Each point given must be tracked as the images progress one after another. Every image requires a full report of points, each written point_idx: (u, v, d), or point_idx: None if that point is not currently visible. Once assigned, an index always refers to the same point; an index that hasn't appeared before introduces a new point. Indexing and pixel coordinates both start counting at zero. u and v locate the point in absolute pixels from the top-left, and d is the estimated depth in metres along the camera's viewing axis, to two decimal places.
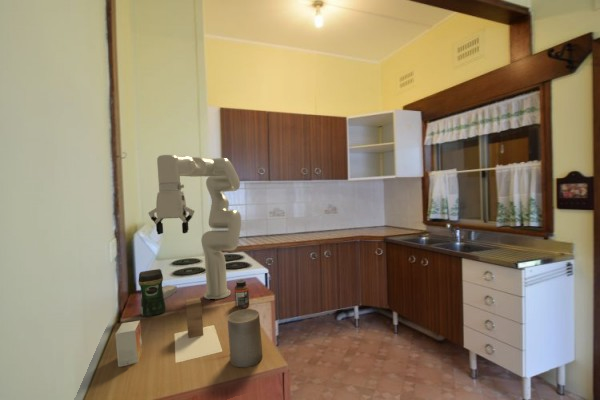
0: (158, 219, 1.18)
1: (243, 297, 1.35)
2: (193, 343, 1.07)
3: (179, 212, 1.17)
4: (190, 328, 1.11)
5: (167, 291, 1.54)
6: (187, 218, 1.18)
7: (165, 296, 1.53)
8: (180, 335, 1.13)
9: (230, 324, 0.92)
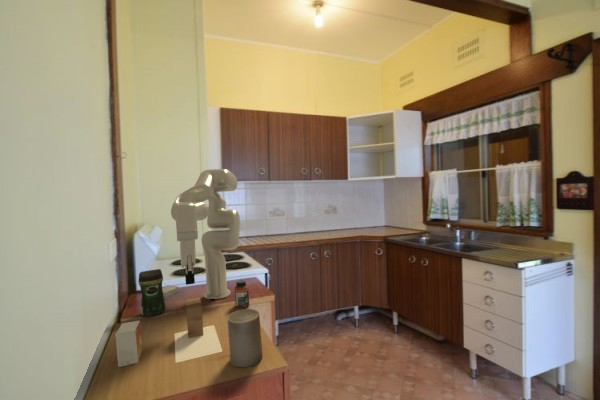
0: None
1: (243, 297, 1.35)
2: (193, 343, 1.07)
3: None
4: (190, 328, 1.11)
5: (169, 291, 1.54)
6: None
7: (167, 296, 1.53)
8: (180, 335, 1.13)
9: (230, 324, 0.92)
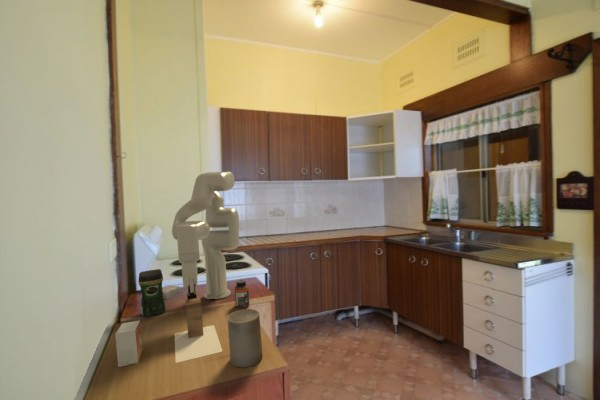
0: None
1: (243, 297, 1.35)
2: (193, 343, 1.07)
3: None
4: (190, 328, 1.11)
5: (170, 291, 1.54)
6: None
7: (168, 296, 1.52)
8: (180, 335, 1.13)
9: (230, 324, 0.92)
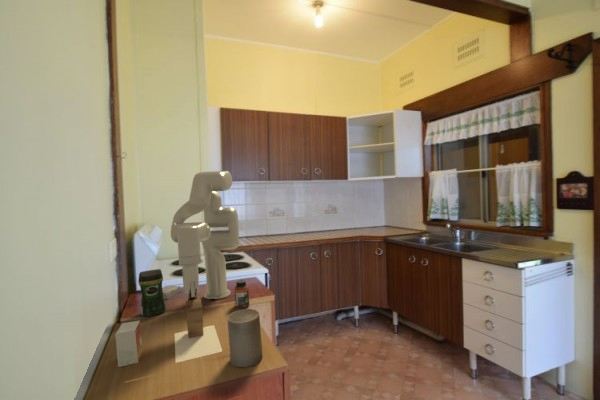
0: None
1: (243, 297, 1.35)
2: (193, 343, 1.07)
3: None
4: (190, 329, 1.10)
5: (171, 291, 1.54)
6: None
7: (169, 296, 1.52)
8: (180, 335, 1.13)
9: (230, 324, 0.92)
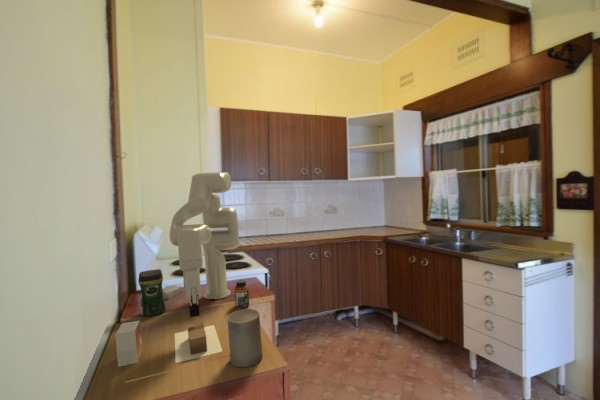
0: None
1: (243, 297, 1.35)
2: None
3: None
4: None
5: (172, 291, 1.54)
6: None
7: (170, 296, 1.52)
8: (180, 335, 1.13)
9: (230, 324, 0.92)
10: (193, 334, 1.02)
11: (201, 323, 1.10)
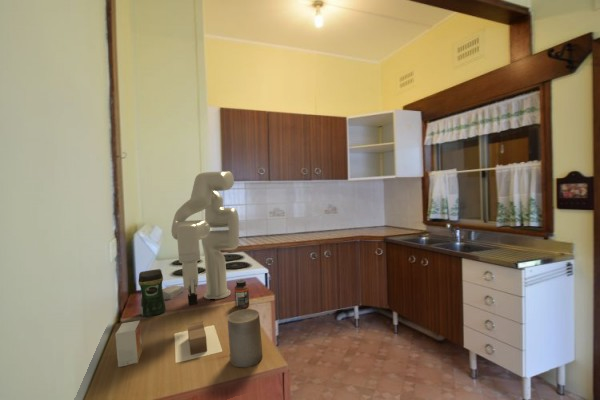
0: (195, 289, 1.18)
1: (243, 297, 1.35)
2: None
3: None
4: None
5: (174, 291, 1.54)
6: None
7: (172, 296, 1.52)
8: (180, 335, 1.13)
9: (230, 324, 0.92)
10: (193, 334, 1.02)
11: (201, 323, 1.10)
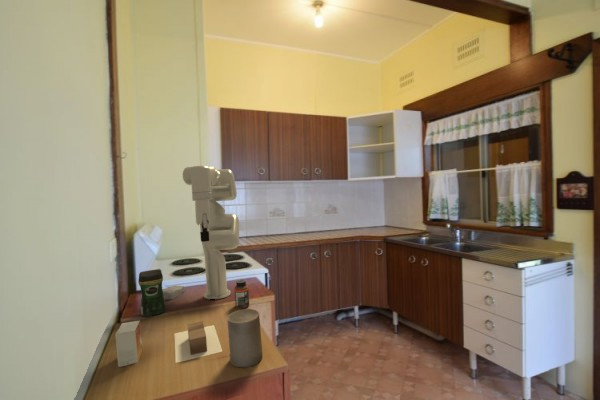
0: None
1: (243, 297, 1.35)
2: None
3: None
4: None
5: (175, 291, 1.54)
6: None
7: (173, 296, 1.52)
8: (180, 335, 1.13)
9: (230, 324, 0.92)
10: (193, 334, 1.02)
11: (201, 323, 1.10)
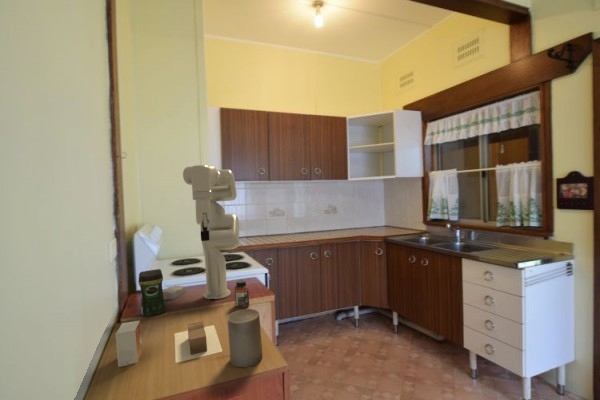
0: None
1: (243, 297, 1.35)
2: None
3: None
4: None
5: (176, 291, 1.53)
6: None
7: (174, 296, 1.52)
8: (180, 335, 1.13)
9: (230, 324, 0.92)
10: (193, 334, 1.02)
11: (201, 323, 1.10)
